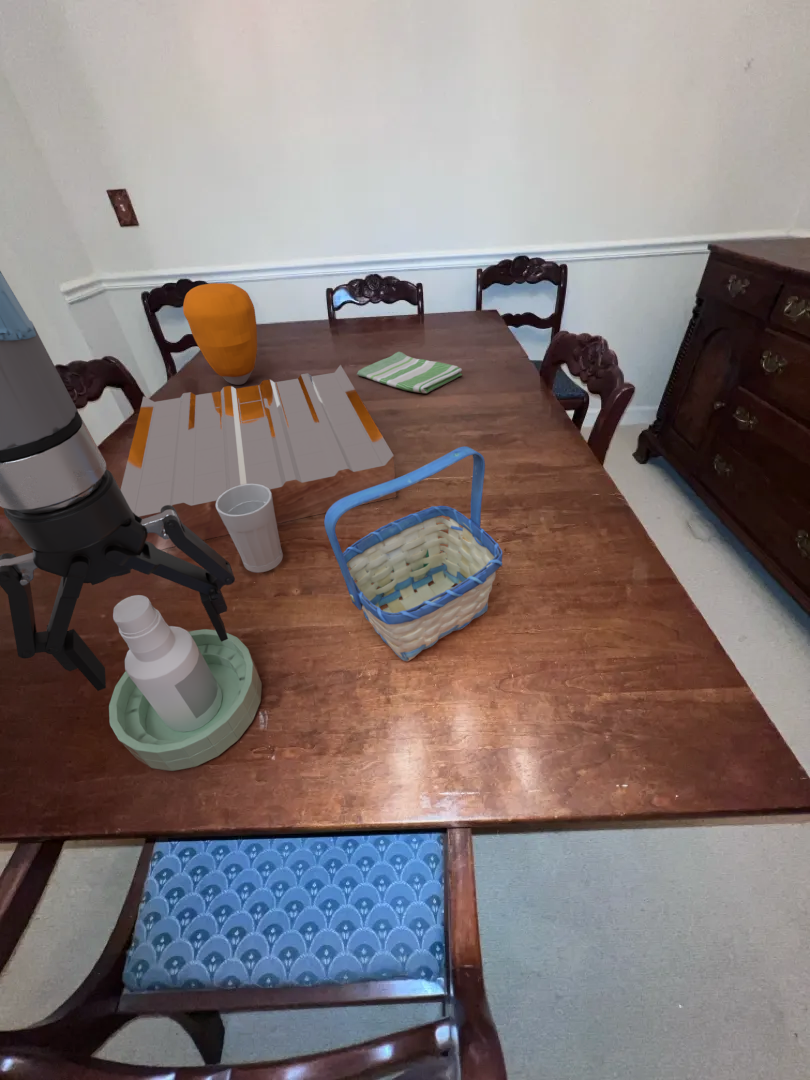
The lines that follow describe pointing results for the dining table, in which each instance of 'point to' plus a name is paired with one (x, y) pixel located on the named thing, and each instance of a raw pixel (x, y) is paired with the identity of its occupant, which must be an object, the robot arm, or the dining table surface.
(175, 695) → the white bottle
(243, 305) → the orange egg-shaped ornament
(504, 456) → the dining table surface
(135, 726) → the bowl
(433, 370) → the dish towel
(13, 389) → the robot arm
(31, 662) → the dining table surface
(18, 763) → the dining table surface
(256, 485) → the cup
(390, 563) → the basket
